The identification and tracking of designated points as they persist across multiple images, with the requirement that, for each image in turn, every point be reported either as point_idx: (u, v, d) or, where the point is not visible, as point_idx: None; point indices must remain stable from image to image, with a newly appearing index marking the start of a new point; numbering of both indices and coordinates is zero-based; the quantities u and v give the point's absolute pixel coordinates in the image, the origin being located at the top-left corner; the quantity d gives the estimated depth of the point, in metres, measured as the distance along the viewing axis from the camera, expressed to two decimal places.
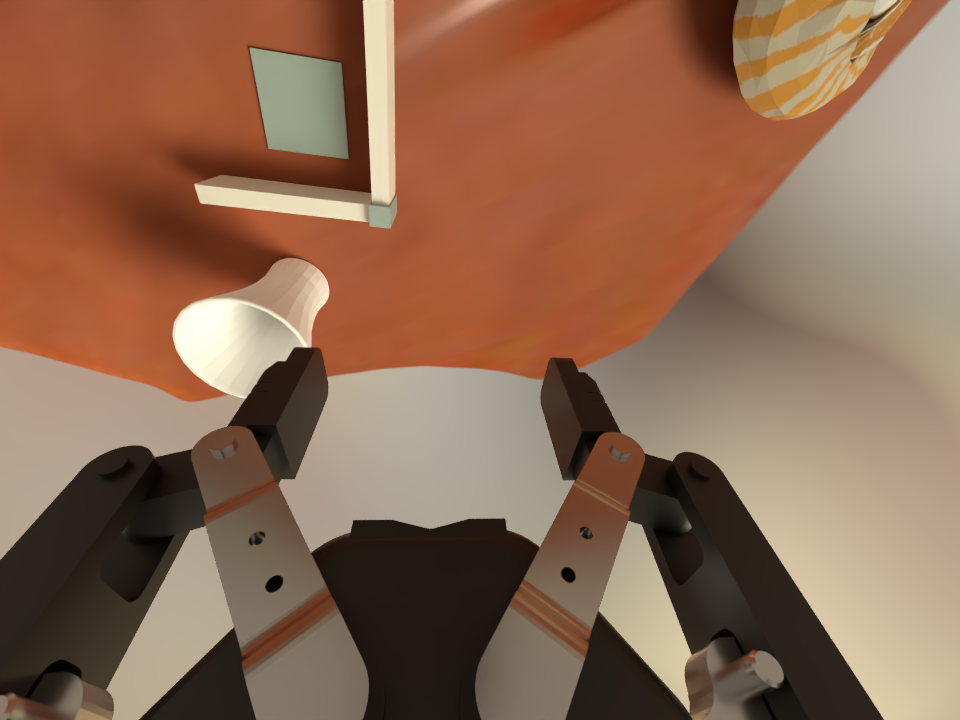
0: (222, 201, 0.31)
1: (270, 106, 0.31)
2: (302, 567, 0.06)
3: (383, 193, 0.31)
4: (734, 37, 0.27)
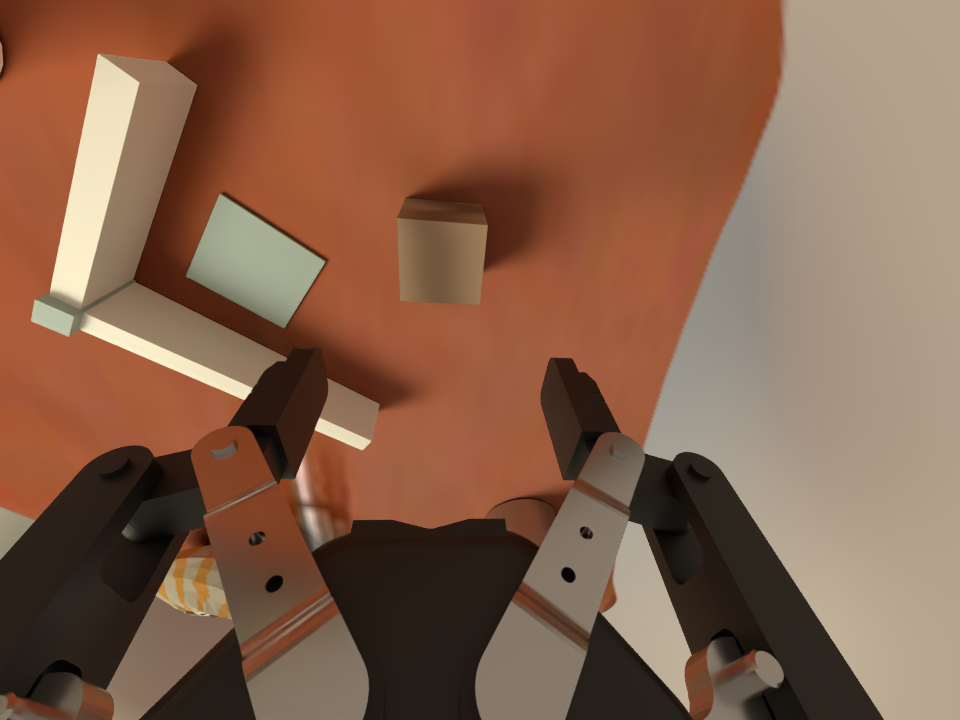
0: (99, 101, 0.16)
1: (268, 235, 0.24)
2: (302, 567, 0.06)
3: (98, 332, 0.23)
4: (204, 558, 0.40)
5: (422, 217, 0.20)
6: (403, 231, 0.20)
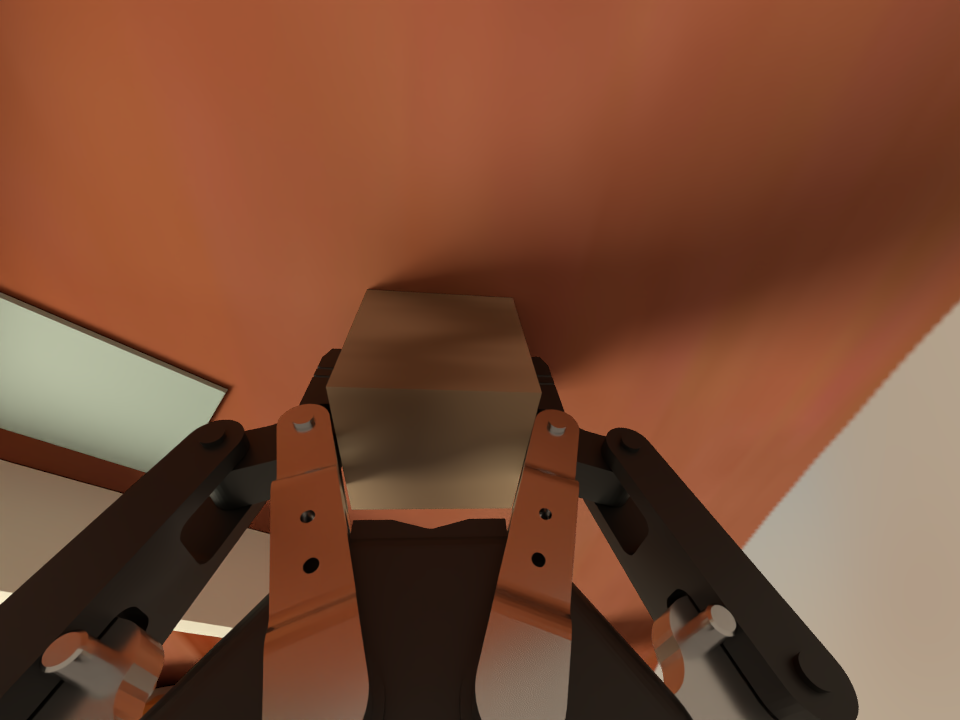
0: None
1: (109, 354, 0.13)
2: (337, 556, 0.06)
3: None
4: None
5: (389, 374, 0.09)
6: (344, 409, 0.09)
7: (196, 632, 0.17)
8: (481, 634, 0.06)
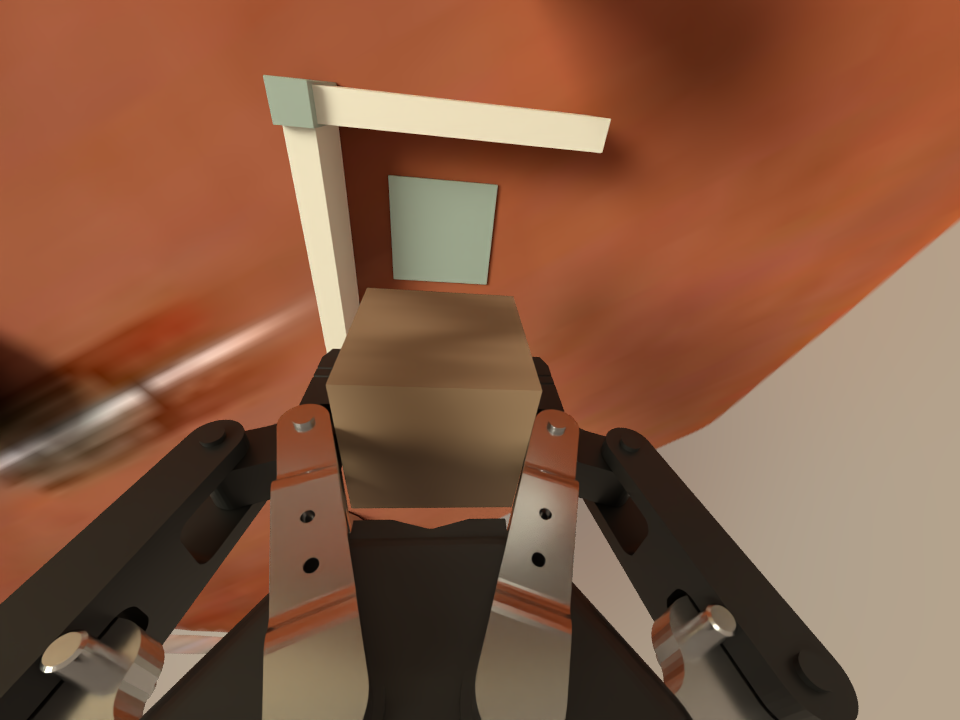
0: (573, 123, 0.18)
1: (481, 233, 0.25)
2: (337, 556, 0.06)
3: (296, 147, 0.18)
4: None
5: (389, 372, 0.09)
6: (343, 408, 0.08)
7: None
8: (481, 634, 0.06)
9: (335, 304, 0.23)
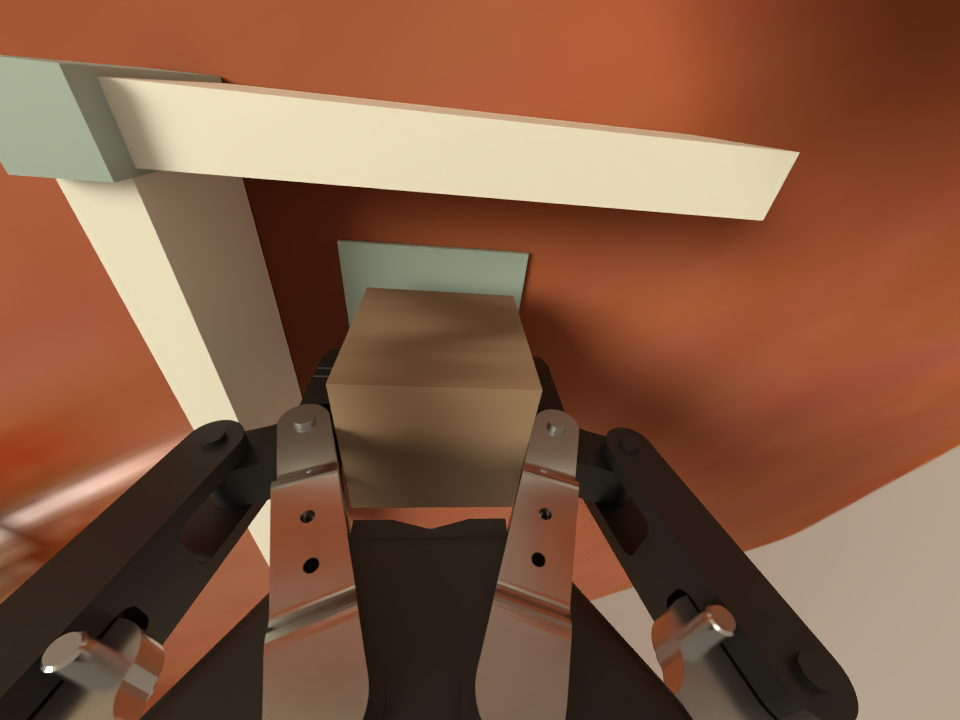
0: (716, 162, 0.08)
1: None
2: (337, 556, 0.06)
3: (100, 219, 0.08)
4: None
5: (389, 372, 0.09)
6: (343, 407, 0.08)
7: (252, 528, 0.16)
8: (481, 634, 0.06)
9: None
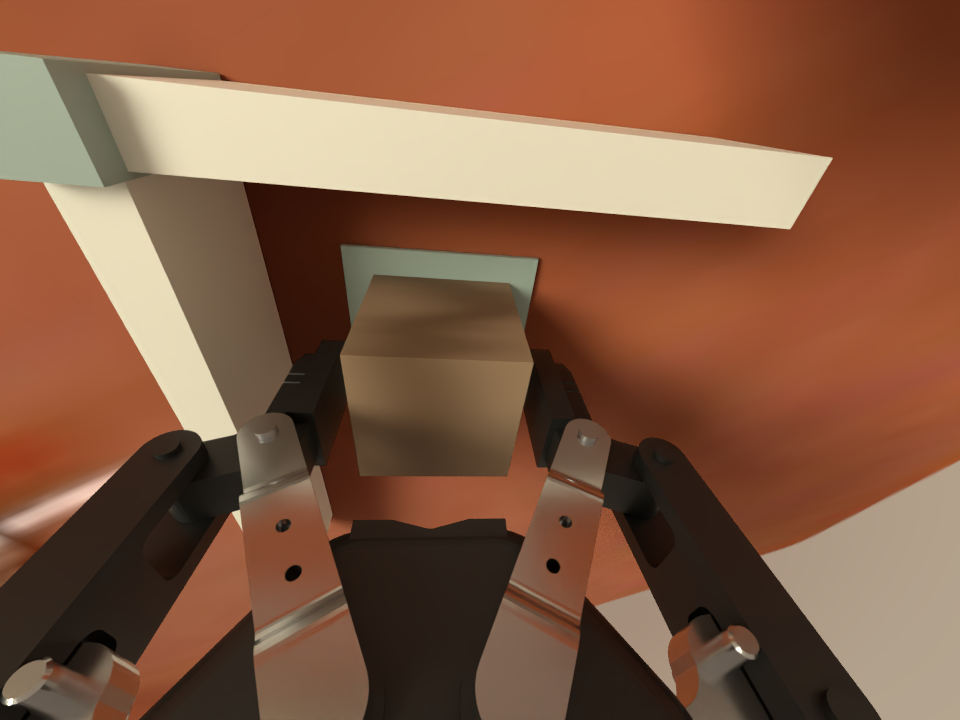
0: (744, 167, 0.08)
1: None
2: (320, 560, 0.06)
3: (91, 224, 0.07)
4: None
5: (396, 346, 0.10)
6: (355, 377, 0.09)
7: None
8: (488, 630, 0.06)
9: None
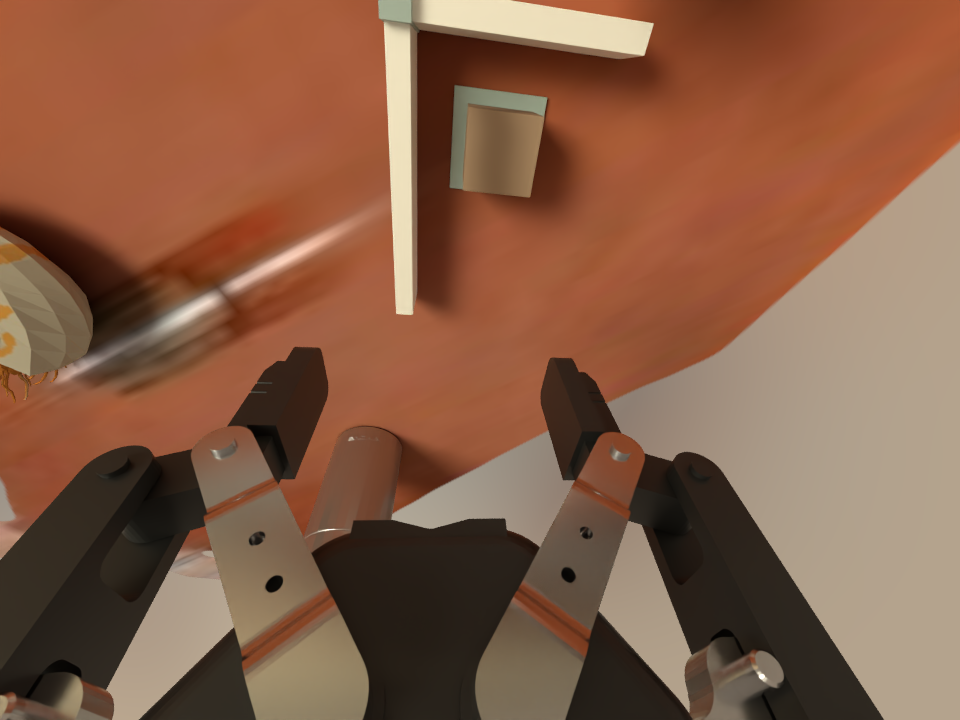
0: (621, 26, 0.22)
1: None
2: (302, 566, 0.06)
3: (392, 43, 0.22)
4: (12, 244, 0.28)
5: (489, 109, 0.24)
6: (472, 120, 0.24)
7: (395, 252, 0.29)
8: (497, 628, 0.06)
9: (406, 197, 0.27)
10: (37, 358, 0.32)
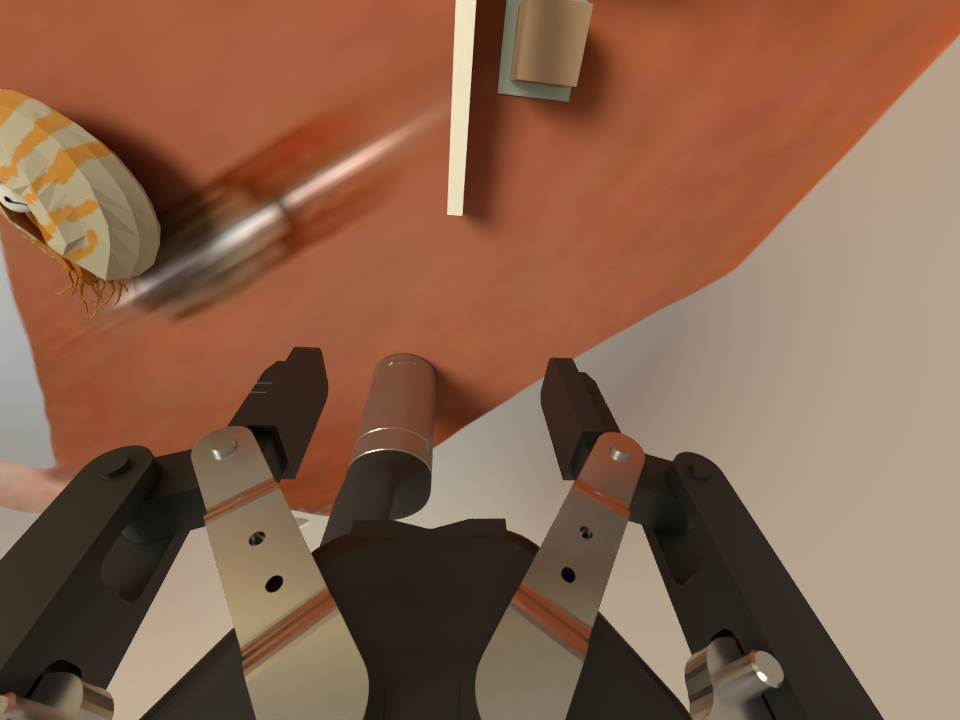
0: None
1: None
2: (302, 566, 0.06)
3: None
4: (98, 142, 0.31)
5: None
6: (530, 7, 0.27)
7: (452, 147, 0.32)
8: (496, 628, 0.06)
9: (465, 89, 0.30)
10: (113, 261, 0.35)
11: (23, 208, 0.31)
